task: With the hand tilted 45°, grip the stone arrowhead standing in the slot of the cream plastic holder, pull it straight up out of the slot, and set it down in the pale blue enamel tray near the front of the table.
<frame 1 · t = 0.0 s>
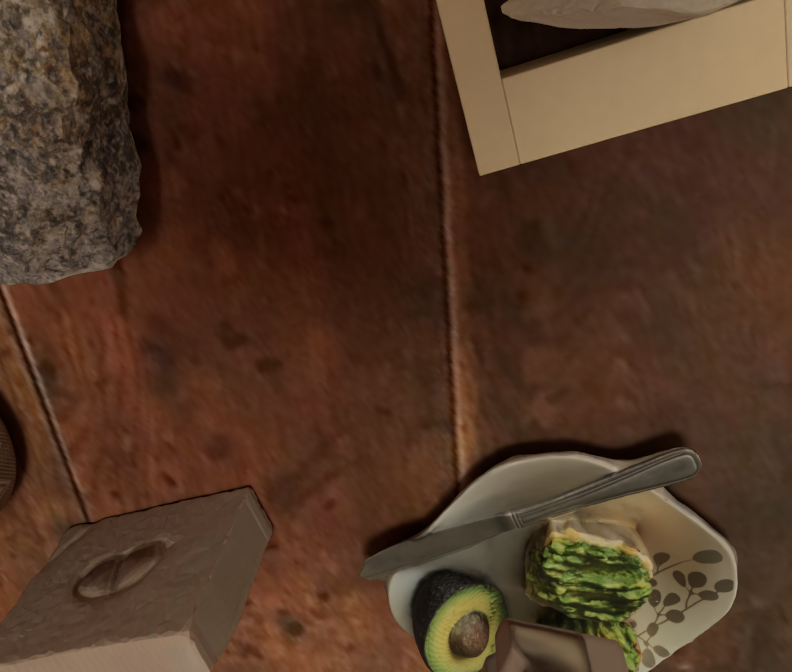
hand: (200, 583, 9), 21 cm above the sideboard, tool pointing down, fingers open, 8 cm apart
fossil: (172, 524, 37), on the sideboard
salad plate: (541, 570, 36), on the sideboard
rock: (7, 81, 27), on the sideboard
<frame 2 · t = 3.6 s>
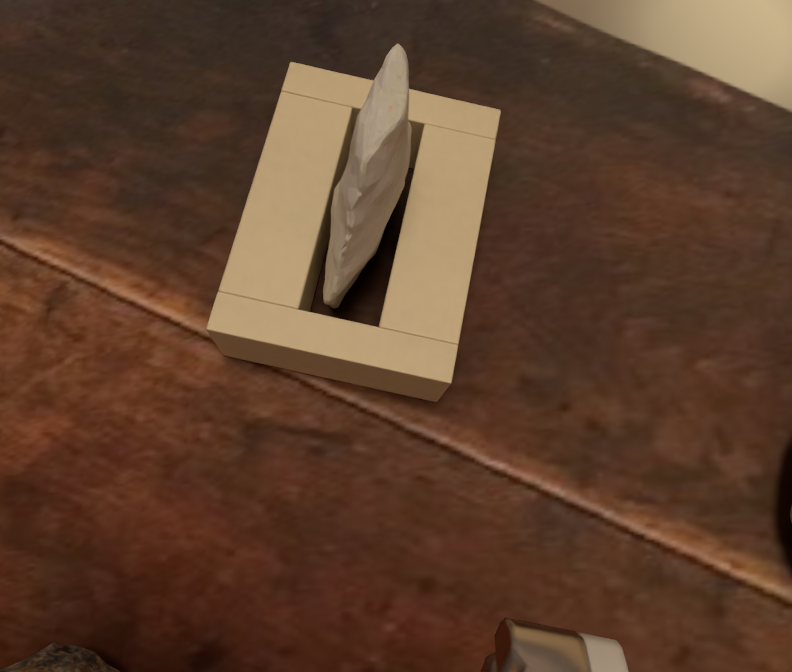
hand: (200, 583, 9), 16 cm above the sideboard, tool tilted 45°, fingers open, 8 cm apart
holder: (361, 249, 28), on the sideboard
arrowhead: (361, 251, 28), resting in holder
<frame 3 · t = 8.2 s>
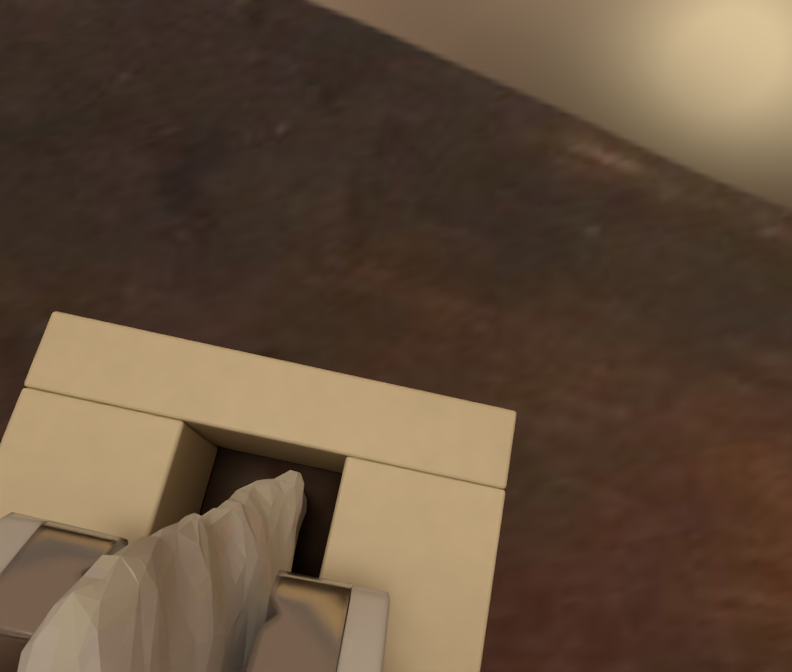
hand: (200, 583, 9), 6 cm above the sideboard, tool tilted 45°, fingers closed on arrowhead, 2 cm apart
holder: (228, 671, 13), on the sideboard
arrowhead: (230, 670, 14), resting in holder, touching gripper
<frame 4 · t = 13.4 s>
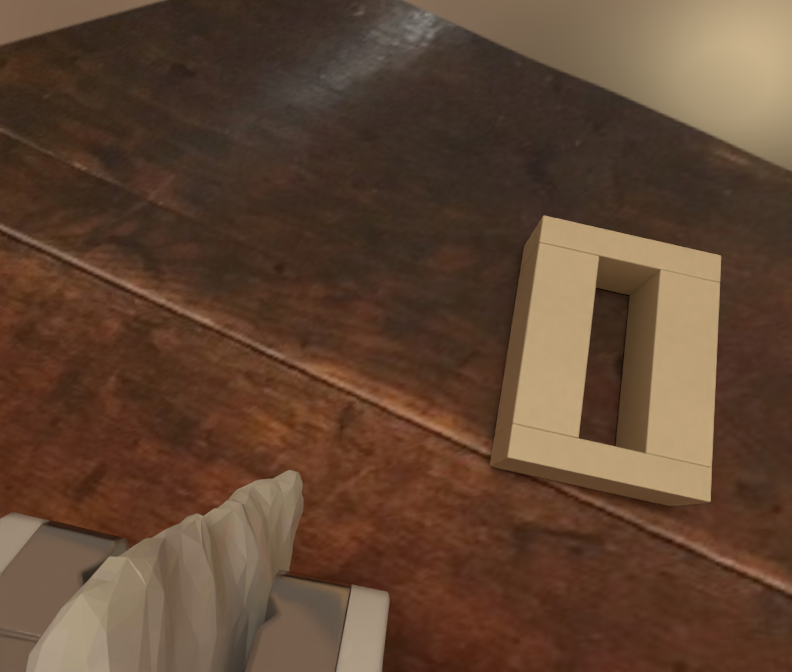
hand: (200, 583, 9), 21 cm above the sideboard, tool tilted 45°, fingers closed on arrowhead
holder: (593, 369, 32), on the sideboard
arrowhead: (226, 669, 14), point 15 cm above the sideboard, touching gripper
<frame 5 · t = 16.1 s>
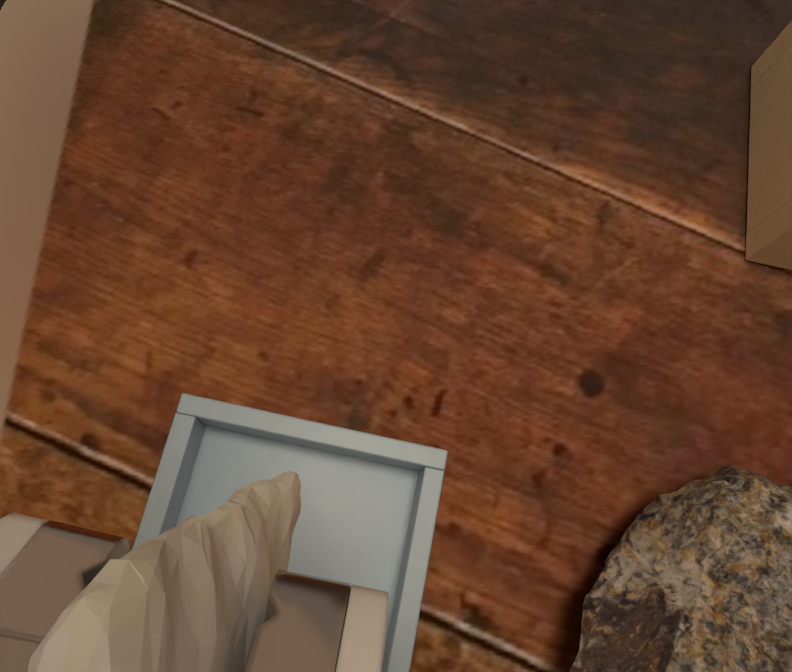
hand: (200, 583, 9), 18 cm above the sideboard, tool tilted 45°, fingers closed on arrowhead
rock: (742, 657, 26), on the sideboard
arrowhead: (222, 670, 14), point 12 cm above the sideboard, touching gripper
tray: (273, 614, 25), on the sideboard
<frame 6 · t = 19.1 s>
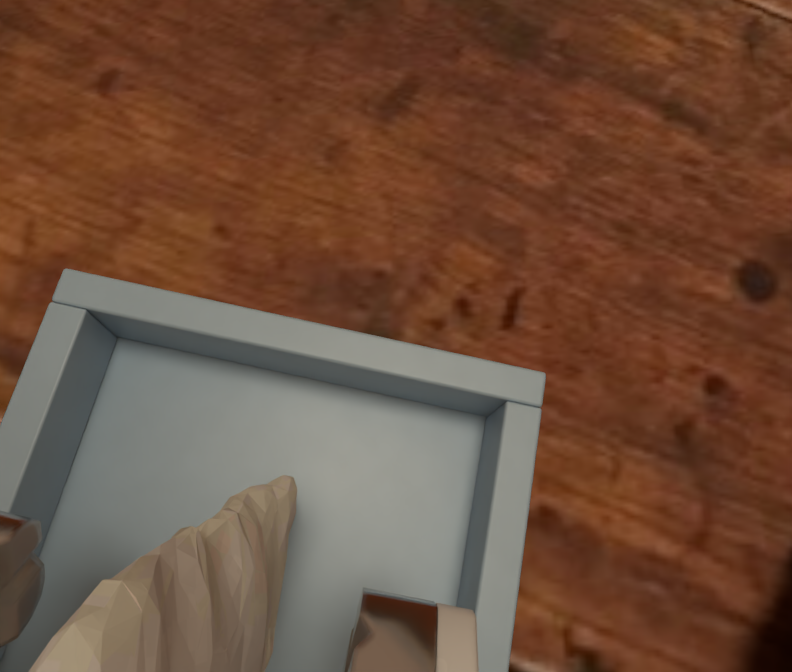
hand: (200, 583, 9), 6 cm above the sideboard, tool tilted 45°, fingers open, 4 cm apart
tray: (231, 669, 14), on the sideboard
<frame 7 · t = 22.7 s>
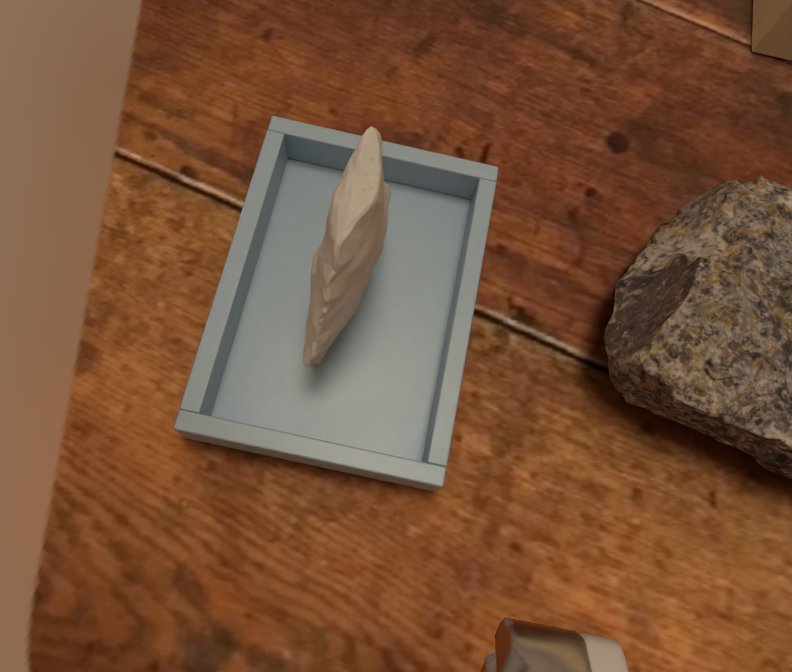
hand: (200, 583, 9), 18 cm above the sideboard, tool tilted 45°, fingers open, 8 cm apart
rock: (749, 355, 30), on the sideboard
arrowhead: (344, 304, 29), resting on tray
tray: (349, 306, 29), on the sideboard
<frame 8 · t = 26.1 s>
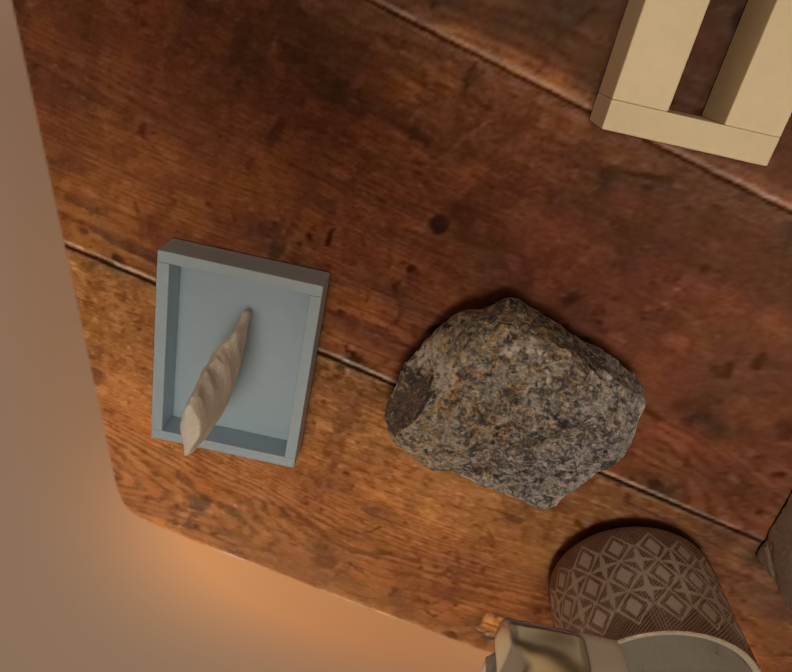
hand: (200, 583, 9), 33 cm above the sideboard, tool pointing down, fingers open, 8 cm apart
planter: (625, 574, 52), on the sideboard
rock: (509, 382, 45), on the sideboard
holder: (708, 23, 34), on the sideboard
arrowhead: (237, 352, 45), resting on tray
tray: (241, 350, 45), on the sideboard
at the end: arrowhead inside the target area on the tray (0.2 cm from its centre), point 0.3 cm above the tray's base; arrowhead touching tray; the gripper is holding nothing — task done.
